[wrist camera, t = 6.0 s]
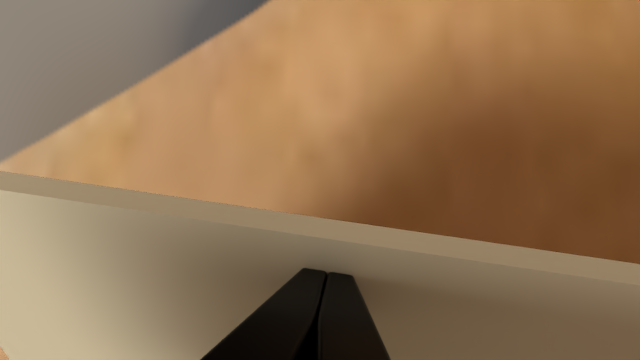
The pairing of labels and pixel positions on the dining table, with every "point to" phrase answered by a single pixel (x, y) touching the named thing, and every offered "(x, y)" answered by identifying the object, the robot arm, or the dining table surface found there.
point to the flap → (282, 281)
